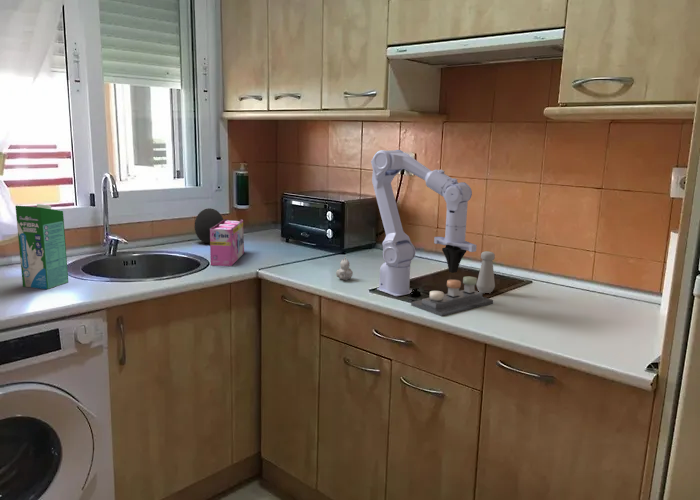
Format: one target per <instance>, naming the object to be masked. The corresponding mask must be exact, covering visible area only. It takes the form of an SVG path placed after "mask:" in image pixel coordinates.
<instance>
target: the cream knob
mask: <svg viewBox="0 0 700 500" xmlns="http://www.w3.org/2000/svg"><path fill="white" fill-rule="evenodd" d="M444 294H445V293H444V292H443V291H442V290H441V291H440V290H431V291H429V297H428V298H430V299H431V300H433V301H436V302H438V301H442V299H444Z"/></svg>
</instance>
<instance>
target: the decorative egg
mask: <svg viewBox="0 0 700 500" xmlns="http://www.w3.org/2000/svg"><path fill="white" fill-rule="evenodd" d="M222 220H224V218H223V216H222V214H221V213H220V211H218V210H217V209H214V208H205V209H203V210H200V212H199V213H198V214H197V216H196V217H195V220H194V232H195V235H196V237H197V238H198V239H199V241H201V242H203V243H205V244H209V245H210V229H211V228H212V227H214V226H215V225H217V224H218V223H220V222H221V221H222Z"/></svg>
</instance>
